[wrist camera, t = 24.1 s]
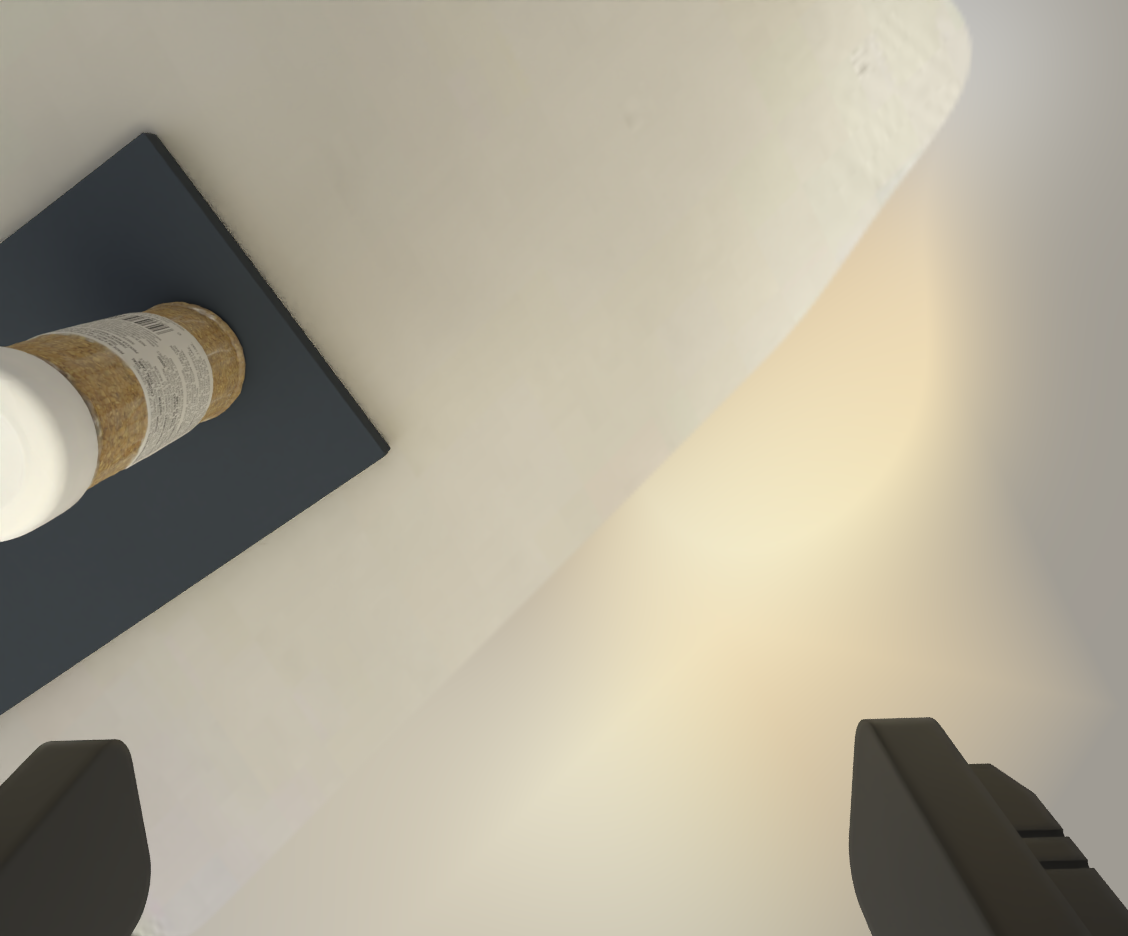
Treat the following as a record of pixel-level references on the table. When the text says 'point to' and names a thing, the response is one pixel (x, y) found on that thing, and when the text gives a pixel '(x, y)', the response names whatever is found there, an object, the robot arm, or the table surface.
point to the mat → (187, 465)
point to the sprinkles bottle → (105, 402)
